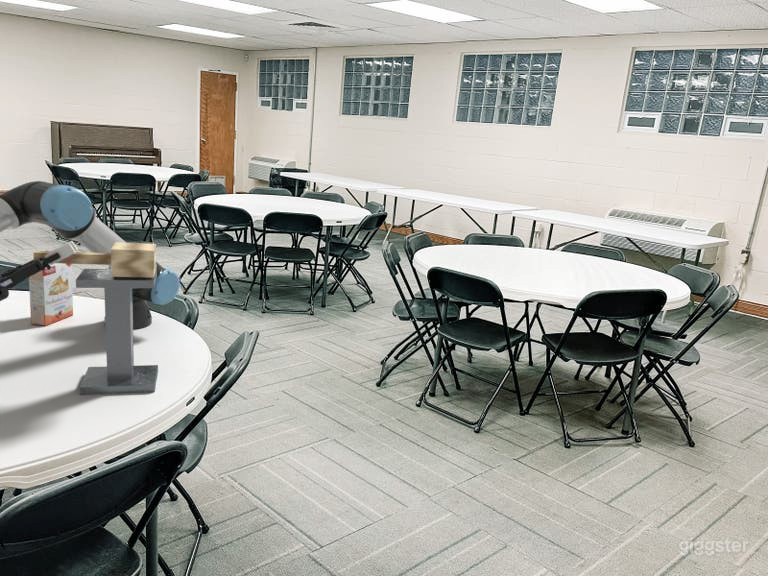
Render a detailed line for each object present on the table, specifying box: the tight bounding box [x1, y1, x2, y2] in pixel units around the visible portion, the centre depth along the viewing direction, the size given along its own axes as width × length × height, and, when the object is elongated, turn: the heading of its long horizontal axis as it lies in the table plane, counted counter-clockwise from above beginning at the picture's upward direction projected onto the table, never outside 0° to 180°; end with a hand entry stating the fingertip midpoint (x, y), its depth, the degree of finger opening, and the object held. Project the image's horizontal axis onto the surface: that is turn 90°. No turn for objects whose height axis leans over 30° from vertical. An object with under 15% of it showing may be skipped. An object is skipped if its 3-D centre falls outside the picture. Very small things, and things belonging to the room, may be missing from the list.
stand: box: [75, 268, 159, 396], centre depth 166 cm, size 18×14×30 cm
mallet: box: [33, 242, 157, 278], centre depth 159 cm, size 28×9×7 cm, turn 106°
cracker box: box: [28, 263, 74, 327], centre depth 211 cm, size 14×6×21 cm, turn 168°
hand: (73, 246), depth 157 cm, fingers closed on mallet, 2 cm apart
